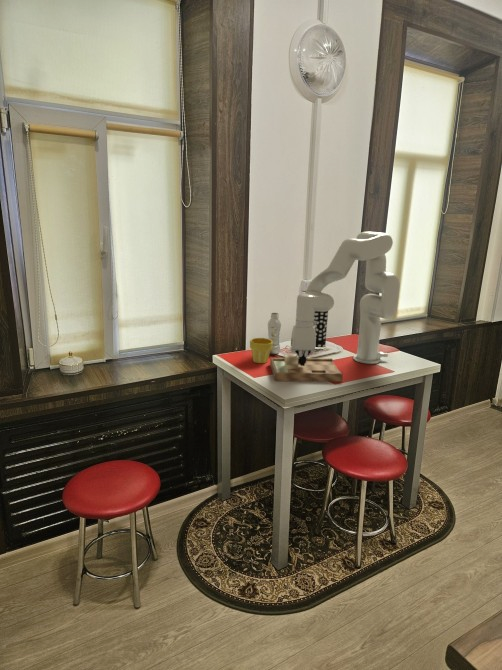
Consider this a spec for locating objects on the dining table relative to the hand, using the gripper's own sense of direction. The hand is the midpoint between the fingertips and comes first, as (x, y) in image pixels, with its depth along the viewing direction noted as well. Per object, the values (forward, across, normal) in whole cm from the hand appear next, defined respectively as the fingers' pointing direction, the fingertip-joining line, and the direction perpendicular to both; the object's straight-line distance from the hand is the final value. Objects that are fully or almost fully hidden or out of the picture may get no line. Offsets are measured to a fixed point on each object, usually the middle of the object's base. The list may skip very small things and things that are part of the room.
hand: (302, 364), depth 188 cm
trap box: (+4, -1, 0) cm, 4 cm away
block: (+1, +5, 0) cm, 5 cm away
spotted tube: (+4, -15, -37) cm, 40 cm away
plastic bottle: (+4, +9, -26) cm, 28 cm away
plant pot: (+4, +16, -15) cm, 23 cm away
